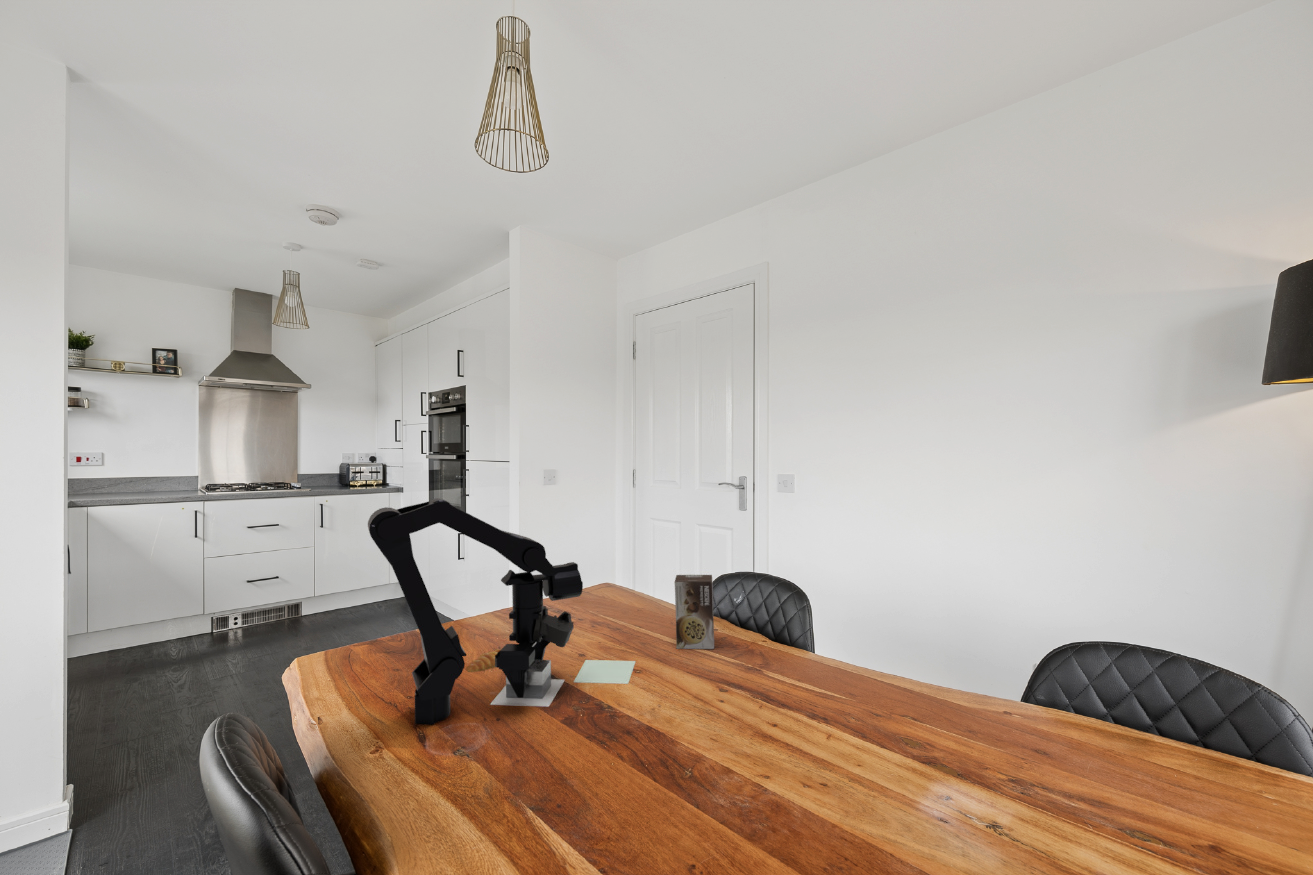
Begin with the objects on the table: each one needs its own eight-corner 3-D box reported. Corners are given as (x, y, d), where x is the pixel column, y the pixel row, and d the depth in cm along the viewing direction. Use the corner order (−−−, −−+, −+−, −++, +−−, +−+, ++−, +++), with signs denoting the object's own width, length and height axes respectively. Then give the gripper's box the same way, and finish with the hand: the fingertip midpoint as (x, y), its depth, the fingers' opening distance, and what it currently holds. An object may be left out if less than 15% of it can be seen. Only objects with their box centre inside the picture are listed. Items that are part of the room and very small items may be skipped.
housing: (542, 698, 101) (542, 671, 101) (506, 697, 102) (505, 670, 102) (551, 685, 107) (550, 659, 107) (516, 684, 108) (516, 659, 108)
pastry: (476, 683, 112) (475, 665, 112) (457, 675, 116) (457, 657, 116) (513, 668, 120) (513, 650, 120) (495, 661, 124) (494, 644, 124)
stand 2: (628, 691, 107) (628, 683, 107) (573, 689, 108) (573, 682, 108) (635, 667, 118) (635, 661, 118) (585, 666, 119) (585, 659, 119)
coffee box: (714, 639, 134) (713, 574, 134) (714, 649, 128) (713, 580, 128) (677, 639, 135) (676, 573, 135) (675, 649, 129) (674, 580, 129)
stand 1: (548, 714, 98) (548, 706, 98) (490, 712, 100) (489, 704, 100) (564, 687, 109) (564, 679, 109) (511, 685, 110) (511, 678, 110)
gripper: (555, 621, 95) (556, 711, 94) (580, 591, 113) (581, 667, 113) (493, 620, 96) (494, 709, 96) (528, 591, 114) (529, 665, 114)
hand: (529, 686), depth 104 cm, fingers open, 9 cm apart
